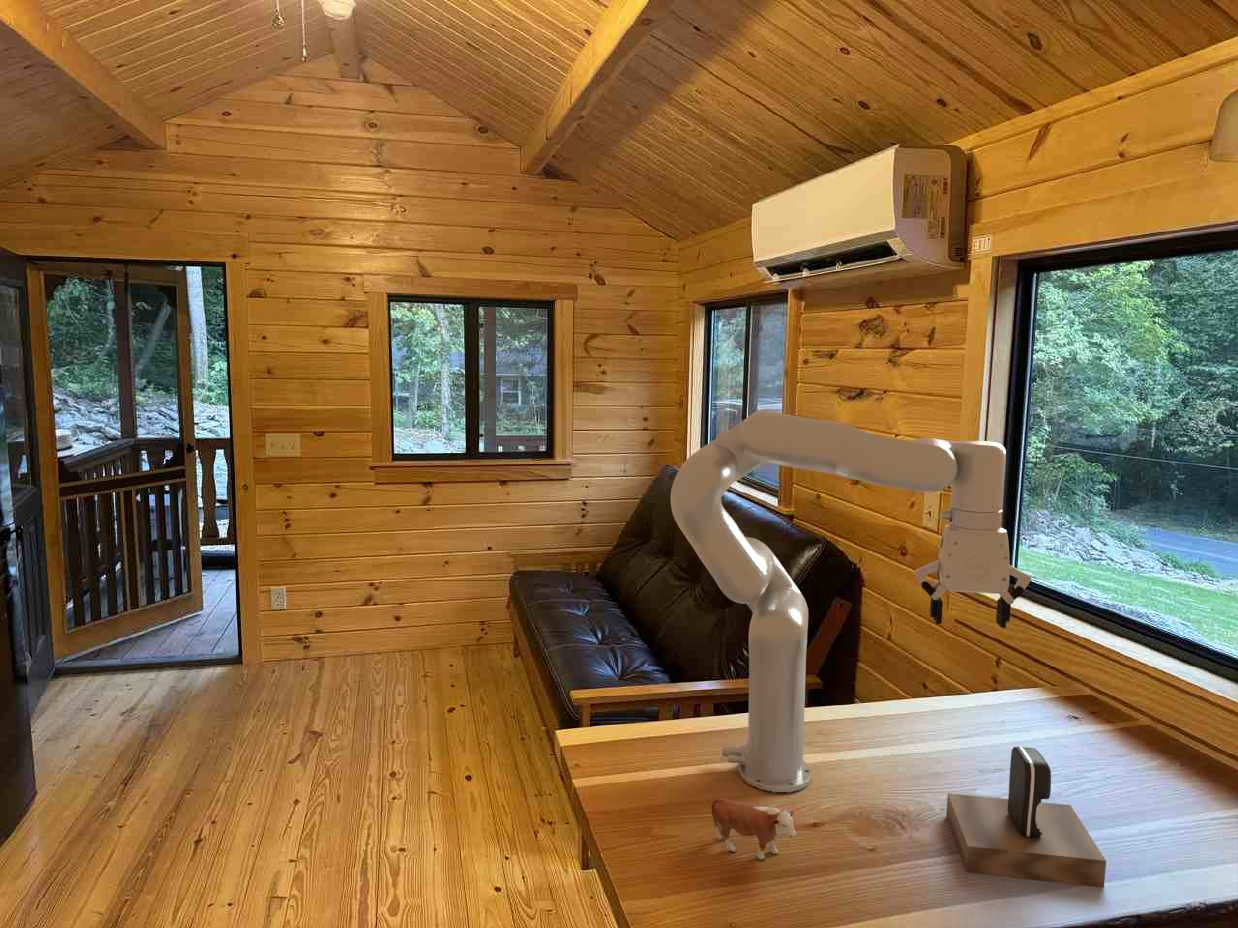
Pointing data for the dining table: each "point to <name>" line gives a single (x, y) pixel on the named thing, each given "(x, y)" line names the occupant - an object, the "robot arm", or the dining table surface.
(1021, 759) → the battery charger
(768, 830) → the bull figurine
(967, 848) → the walnut base
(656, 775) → the dining table surface
